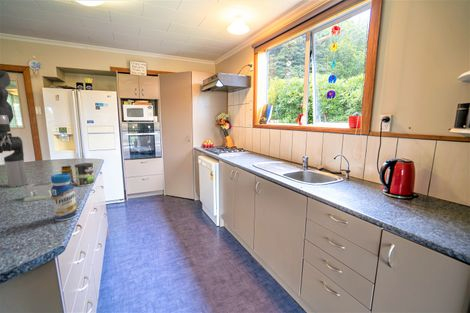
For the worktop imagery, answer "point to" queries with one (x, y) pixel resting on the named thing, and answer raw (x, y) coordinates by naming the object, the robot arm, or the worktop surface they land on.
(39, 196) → the pale green pegged board
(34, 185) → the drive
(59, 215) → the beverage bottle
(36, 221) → the worktop surface
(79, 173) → the coffee can
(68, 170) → the condiment
